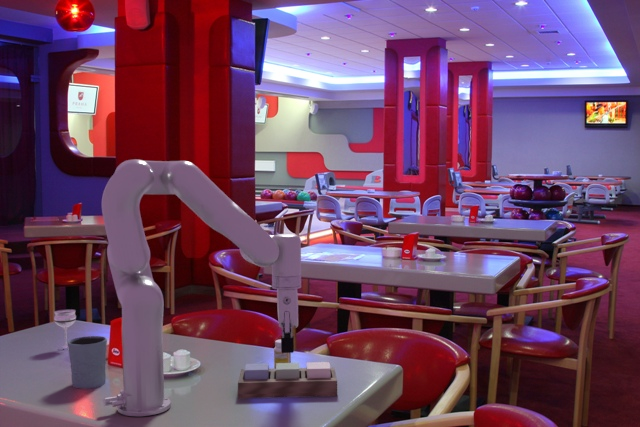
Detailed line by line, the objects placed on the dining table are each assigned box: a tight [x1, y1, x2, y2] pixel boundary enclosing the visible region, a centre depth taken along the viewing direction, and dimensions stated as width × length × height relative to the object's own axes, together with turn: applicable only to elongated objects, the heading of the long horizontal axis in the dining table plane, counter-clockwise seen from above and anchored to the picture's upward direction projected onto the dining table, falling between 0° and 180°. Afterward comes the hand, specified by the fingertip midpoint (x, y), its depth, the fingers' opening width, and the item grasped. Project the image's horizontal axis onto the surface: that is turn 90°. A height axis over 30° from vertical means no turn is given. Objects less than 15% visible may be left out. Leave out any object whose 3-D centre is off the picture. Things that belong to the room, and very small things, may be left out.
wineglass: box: [53, 308, 77, 348], centre depth 232 cm, size 7×7×12 cm
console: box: [237, 366, 338, 399], centre depth 187 cm, size 25×12×4 cm, turn 92°
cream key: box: [306, 361, 331, 378], centre depth 187 cm, size 6×6×4 cm
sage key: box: [276, 362, 300, 379], centre depth 187 cm, size 6×6×4 cm
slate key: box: [244, 362, 270, 380], centre depth 187 cm, size 6×6×4 cm
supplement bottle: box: [273, 338, 292, 369], centre depth 206 cm, size 5×5×8 cm
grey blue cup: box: [67, 335, 108, 390], centre depth 194 cm, size 10×10×12 cm
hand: (287, 351), depth 187 cm, fingers closed
